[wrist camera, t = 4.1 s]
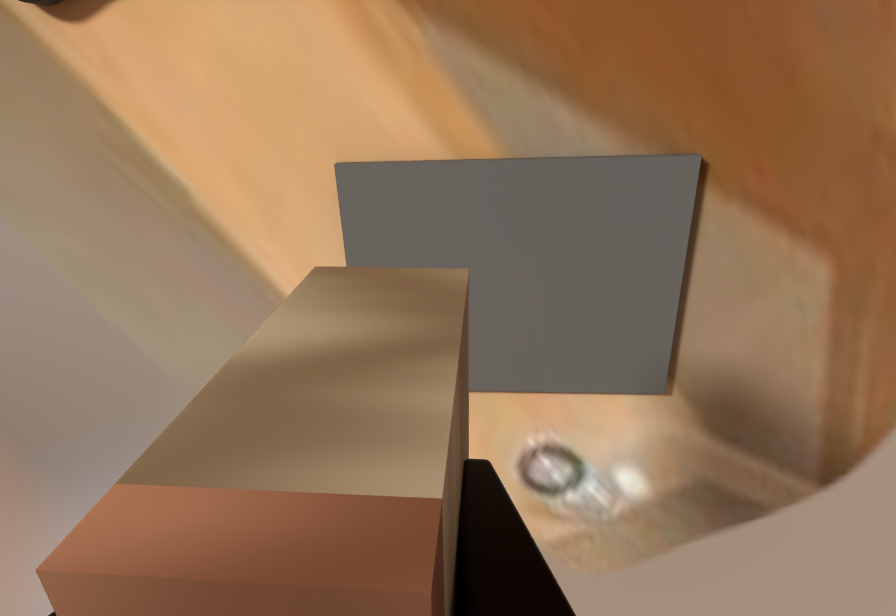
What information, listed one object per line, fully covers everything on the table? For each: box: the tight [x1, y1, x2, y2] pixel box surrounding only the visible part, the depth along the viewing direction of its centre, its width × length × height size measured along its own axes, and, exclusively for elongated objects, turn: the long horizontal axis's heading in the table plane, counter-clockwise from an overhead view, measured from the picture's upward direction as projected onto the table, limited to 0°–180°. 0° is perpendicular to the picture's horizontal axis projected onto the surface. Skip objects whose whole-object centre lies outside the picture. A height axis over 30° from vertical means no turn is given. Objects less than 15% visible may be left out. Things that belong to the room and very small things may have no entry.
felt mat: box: [334, 154, 702, 394], centre depth 19 cm, size 12×9×1 cm
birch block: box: [36, 267, 469, 616], centre depth 7 cm, size 3×6×6 cm, turn 1°
